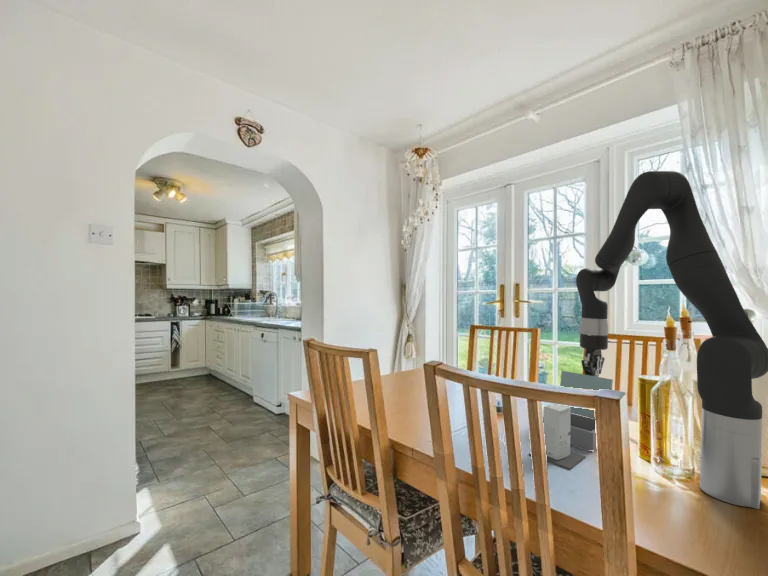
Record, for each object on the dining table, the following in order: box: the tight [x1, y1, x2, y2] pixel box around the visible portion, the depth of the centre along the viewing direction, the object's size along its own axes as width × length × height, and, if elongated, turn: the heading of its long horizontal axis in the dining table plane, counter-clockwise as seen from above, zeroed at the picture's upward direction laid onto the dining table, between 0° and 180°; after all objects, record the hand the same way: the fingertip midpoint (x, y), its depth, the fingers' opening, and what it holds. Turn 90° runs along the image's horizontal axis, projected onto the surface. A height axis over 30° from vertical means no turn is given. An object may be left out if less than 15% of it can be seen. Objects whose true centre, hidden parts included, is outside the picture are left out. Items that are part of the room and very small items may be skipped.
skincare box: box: [542, 403, 571, 460], centre depth 94 cm, size 6×4×12 cm
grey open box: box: [570, 413, 597, 451], centre depth 106 cm, size 14×12×5 cm
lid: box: [559, 370, 614, 420], centre depth 111 cm, size 14×12×1 cm
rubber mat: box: [528, 450, 587, 471], centre depth 94 cm, size 10×10×1 cm
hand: (592, 388), depth 115 cm, fingers closed
